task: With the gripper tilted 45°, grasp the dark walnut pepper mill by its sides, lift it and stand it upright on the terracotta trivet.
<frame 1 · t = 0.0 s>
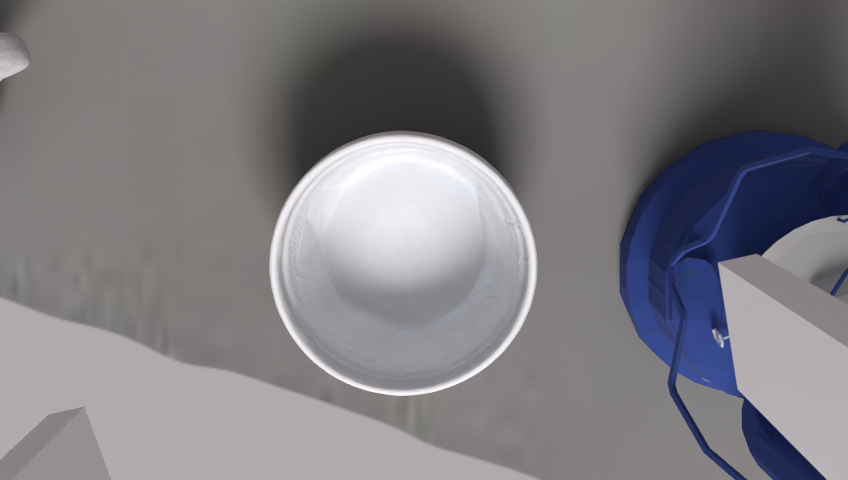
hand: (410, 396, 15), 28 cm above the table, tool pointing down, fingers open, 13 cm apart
lantern: (747, 261, 44), on the table
ramekin: (406, 238, 43), on the table
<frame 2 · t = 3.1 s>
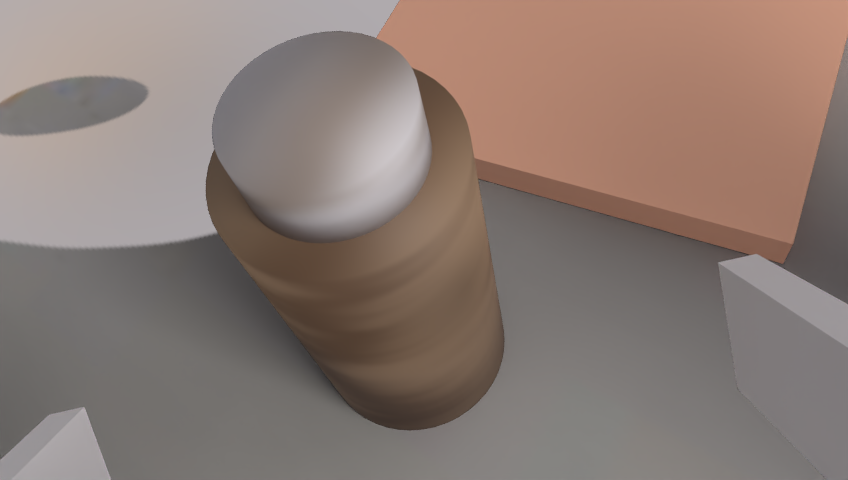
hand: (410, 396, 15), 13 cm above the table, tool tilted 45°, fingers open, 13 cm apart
pepper mill: (414, 342, 29), on the table
trivet: (595, 60, 35), on the table
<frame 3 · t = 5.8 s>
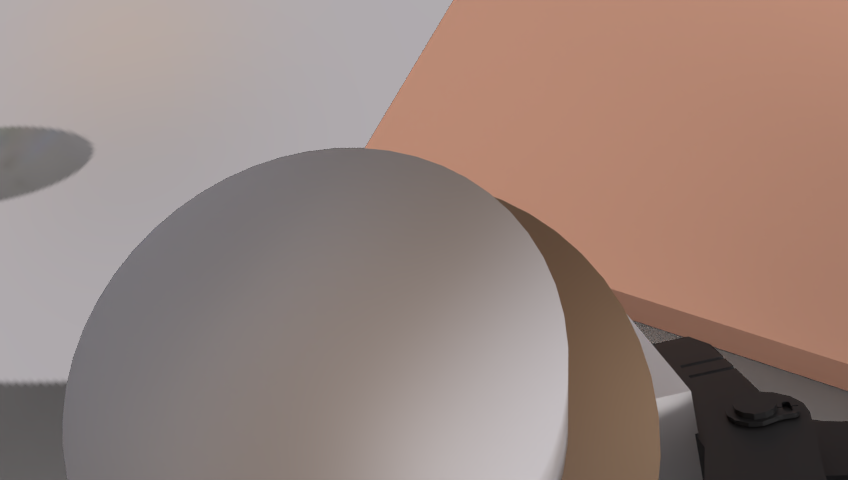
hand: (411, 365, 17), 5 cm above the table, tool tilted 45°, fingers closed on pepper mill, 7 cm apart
trivet: (714, 117, 25), on the table
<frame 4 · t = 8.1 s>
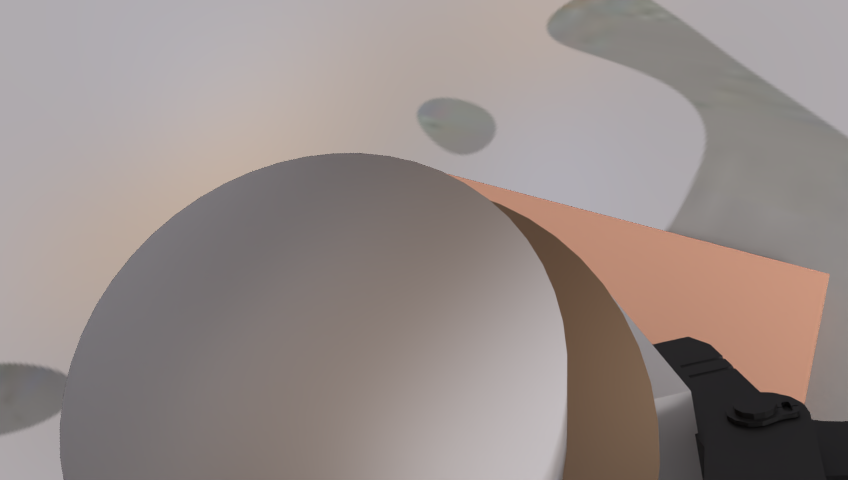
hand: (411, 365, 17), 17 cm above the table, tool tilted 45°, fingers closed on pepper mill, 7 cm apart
trivet: (546, 377, 33), on the table
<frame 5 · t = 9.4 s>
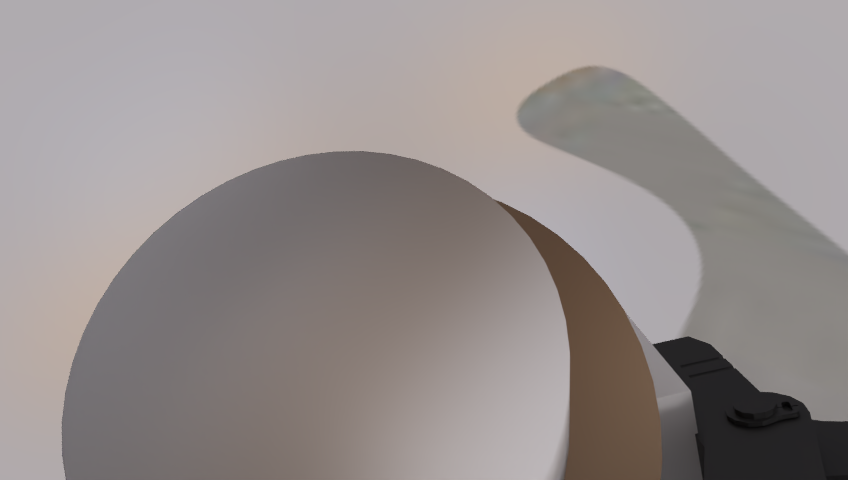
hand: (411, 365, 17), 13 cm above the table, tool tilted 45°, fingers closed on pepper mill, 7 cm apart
when the fingers open (8 cm above the table, at t = 10.6 s): pepper mill drops 1 cm, resting on trivet.
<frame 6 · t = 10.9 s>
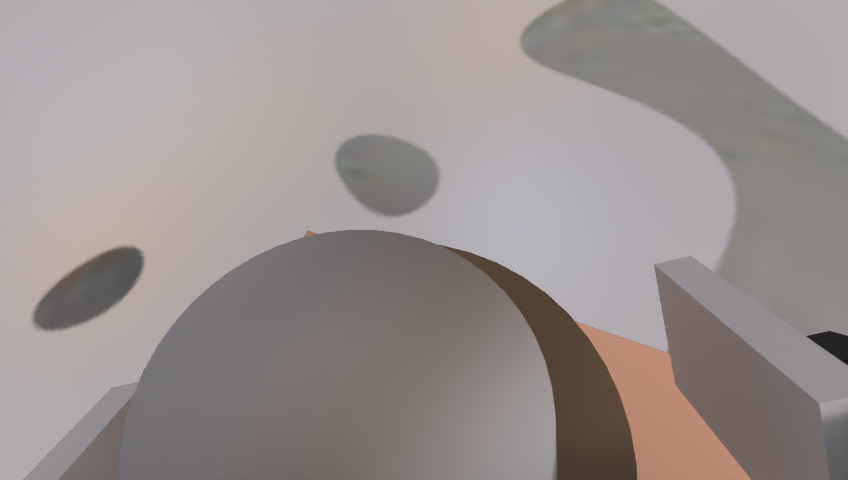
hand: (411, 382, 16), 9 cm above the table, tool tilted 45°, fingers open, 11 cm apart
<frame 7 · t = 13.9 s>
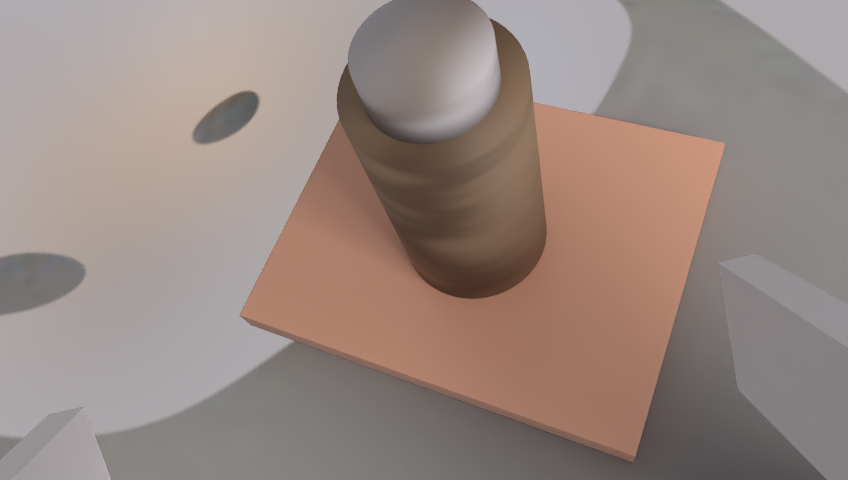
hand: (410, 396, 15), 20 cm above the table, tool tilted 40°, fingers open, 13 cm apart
pepper mill: (475, 233, 37), point 1 cm above the table, touching trivet
trivet: (482, 243, 39), on the table
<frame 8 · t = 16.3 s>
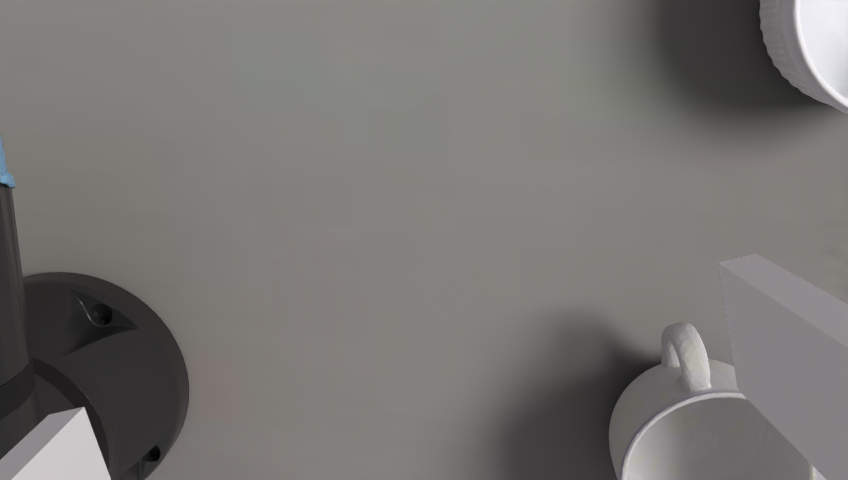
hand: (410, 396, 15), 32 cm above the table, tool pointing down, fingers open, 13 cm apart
ramekin: (847, 3, 44), on the table
teacup: (672, 393, 50), on the table
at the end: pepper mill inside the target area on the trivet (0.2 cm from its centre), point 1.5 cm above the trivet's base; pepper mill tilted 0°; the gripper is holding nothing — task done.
